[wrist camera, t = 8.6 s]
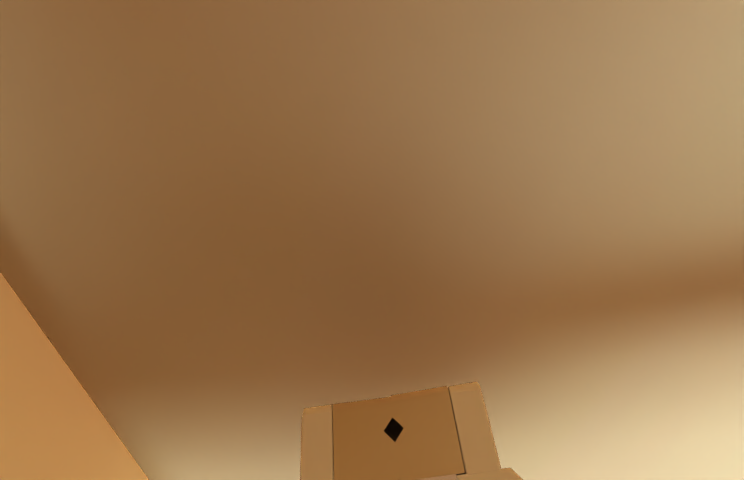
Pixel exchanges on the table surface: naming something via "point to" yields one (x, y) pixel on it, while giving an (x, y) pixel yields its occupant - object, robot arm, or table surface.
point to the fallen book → (49, 410)
